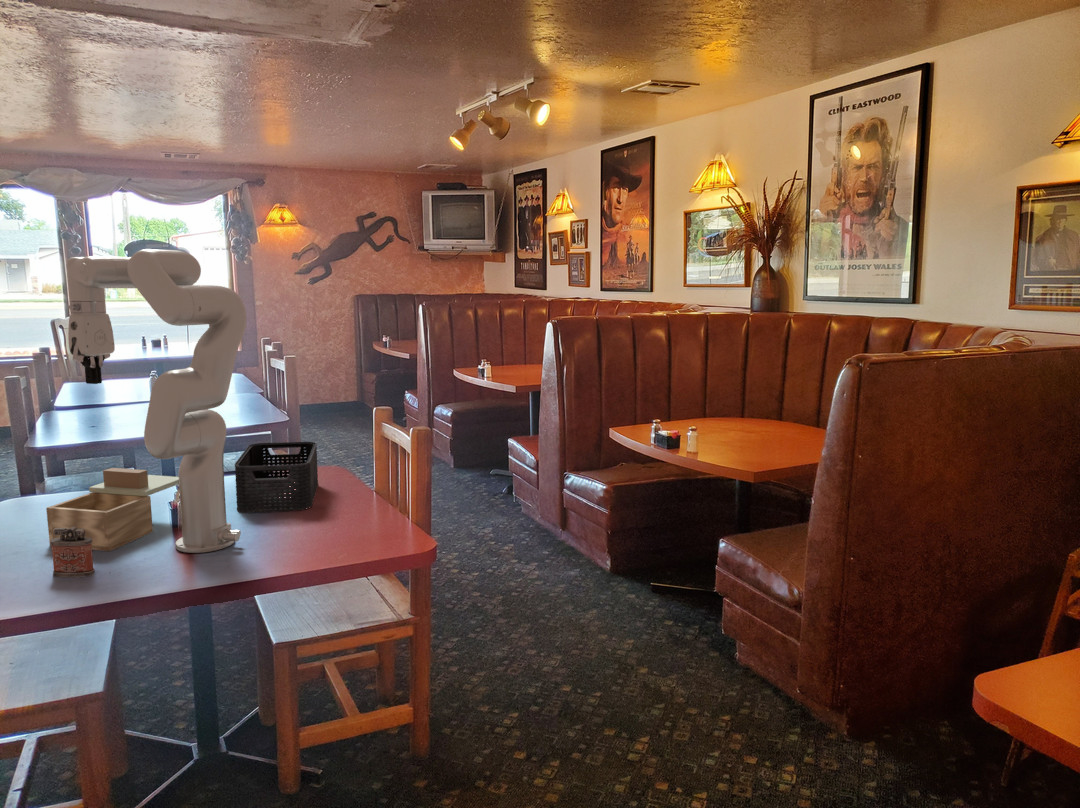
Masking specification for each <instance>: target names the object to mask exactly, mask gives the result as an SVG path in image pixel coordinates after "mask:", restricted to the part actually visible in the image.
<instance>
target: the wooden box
mask: <svg viewBox="0 0 1080 808" xmlns="http://www.w3.org/2000/svg"><path fill="white" fill-rule="evenodd" d="M45 508H46V520H47V528H48V529H47V531H48V539H49V541H48V542H49V543H50V540H52V539H55V538H60V536H61V535H53V530H54V529H55V528H67V529H70V528H71V527H77V529H85V537H88V538H92V543H91V545H92V551H93V550H94V551H103V552H111V551H114V550H116V549H118V548H120V547H122V546H125V545H126V544H129V543H131V542H134V541H136V540H138V539H140V538H142V537H144V536H145V537H146V536H147V535H149V534H151V533H153V532H154V529H153V514H152V500H151V495H149V496H135V495H122V494H109V493H95V492H89V493H86V494H83V495H81V496H77V497H73V498H71V499H69V500H65V501H62V502H59V503H57V504H54V505H51V506H48V507H45ZM65 537H66V535H65ZM49 546H51V547H52V545H50V544H49Z"/></svg>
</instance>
